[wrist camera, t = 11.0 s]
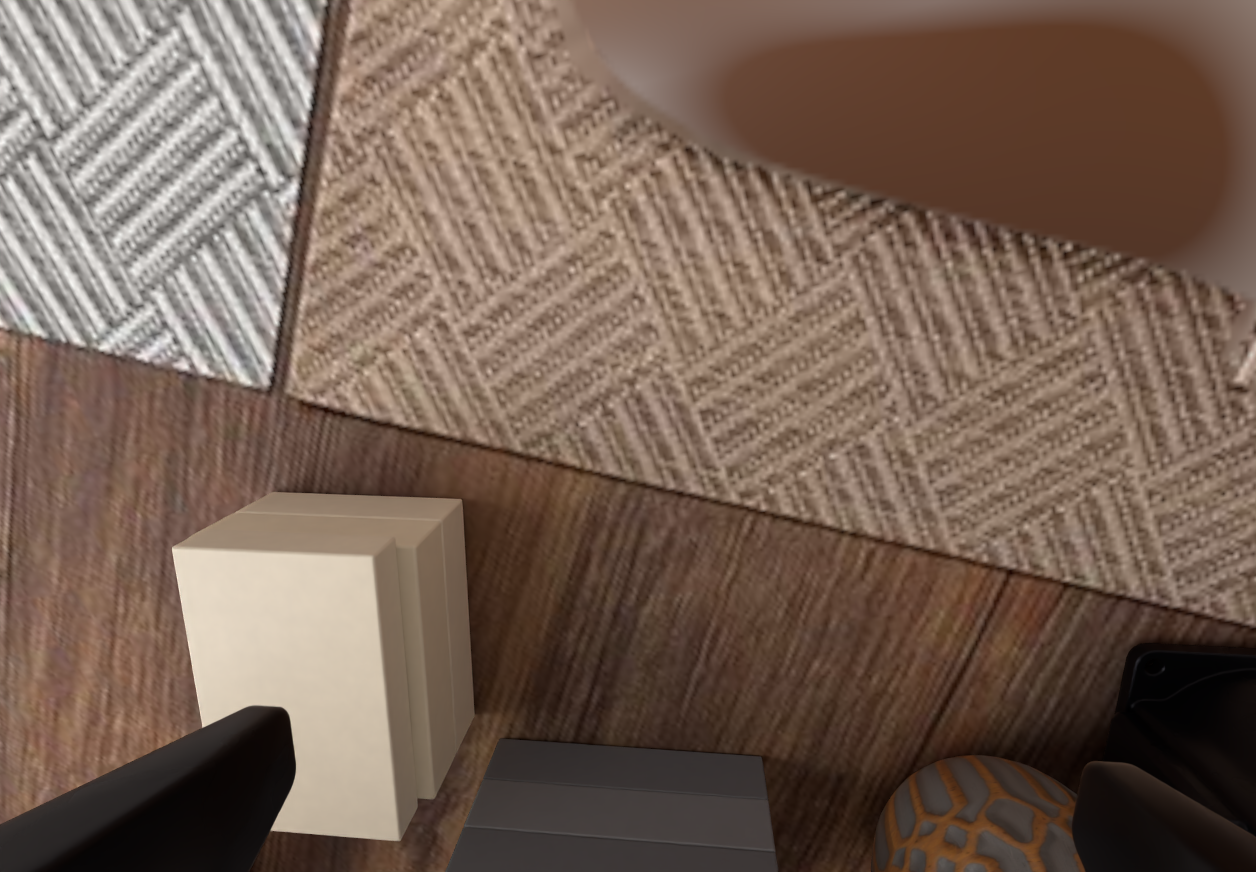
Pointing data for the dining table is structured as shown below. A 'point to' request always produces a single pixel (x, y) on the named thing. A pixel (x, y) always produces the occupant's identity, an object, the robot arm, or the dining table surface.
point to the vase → (977, 820)
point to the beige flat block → (309, 665)
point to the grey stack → (616, 811)
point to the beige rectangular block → (403, 602)
